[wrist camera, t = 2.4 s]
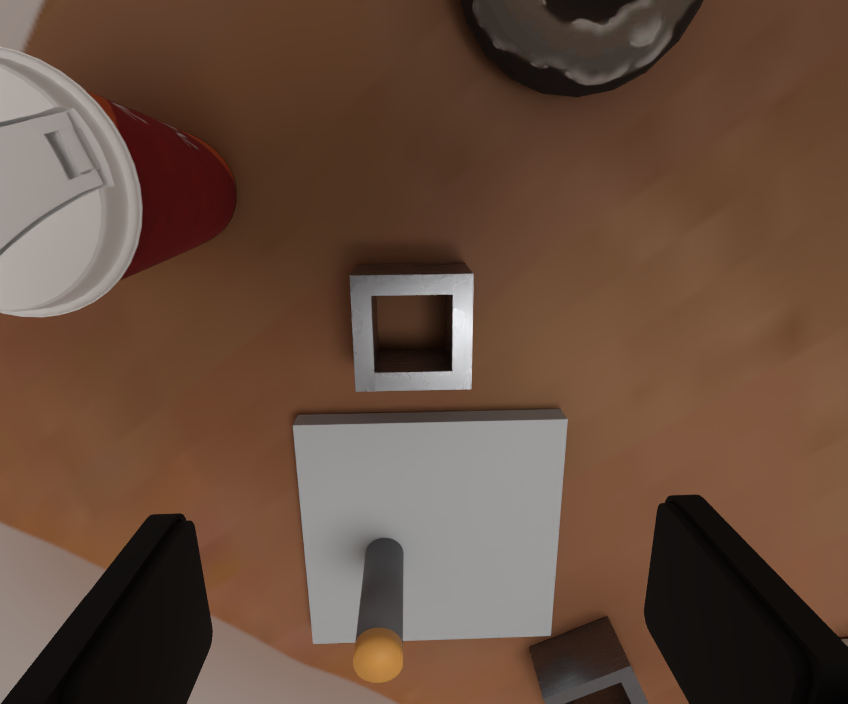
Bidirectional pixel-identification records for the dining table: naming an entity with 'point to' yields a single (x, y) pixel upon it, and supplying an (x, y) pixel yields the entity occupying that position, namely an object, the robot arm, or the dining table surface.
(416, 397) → the dining table surface
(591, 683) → the link
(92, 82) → the dining table surface
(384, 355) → the link
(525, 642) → the dining table surface
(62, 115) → the paper cup
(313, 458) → the keeper
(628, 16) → the black ashtray
